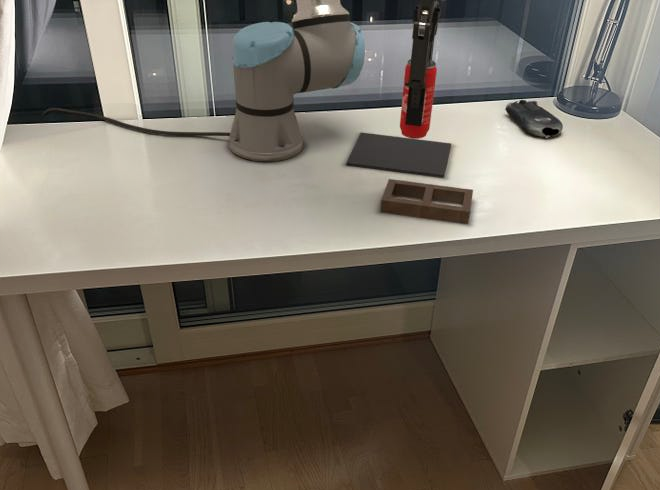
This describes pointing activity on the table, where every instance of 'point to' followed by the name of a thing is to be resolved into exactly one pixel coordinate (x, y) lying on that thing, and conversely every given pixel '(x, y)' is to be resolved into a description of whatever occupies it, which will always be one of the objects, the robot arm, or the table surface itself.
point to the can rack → (427, 201)
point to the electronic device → (534, 118)
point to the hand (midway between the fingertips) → (415, 117)
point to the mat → (400, 154)
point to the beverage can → (430, 80)
